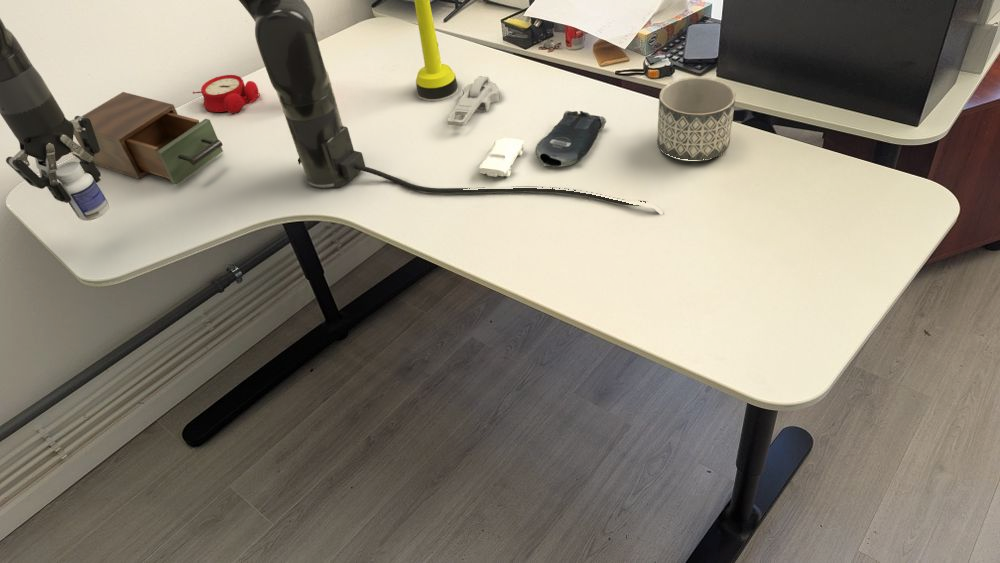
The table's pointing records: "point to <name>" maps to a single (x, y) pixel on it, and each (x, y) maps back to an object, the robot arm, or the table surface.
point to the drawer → (174, 146)
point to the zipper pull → (474, 100)
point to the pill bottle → (82, 191)
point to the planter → (695, 118)
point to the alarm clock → (228, 93)
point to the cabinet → (122, 129)
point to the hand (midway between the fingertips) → (81, 190)
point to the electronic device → (569, 139)
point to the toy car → (501, 157)
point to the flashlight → (432, 60)
